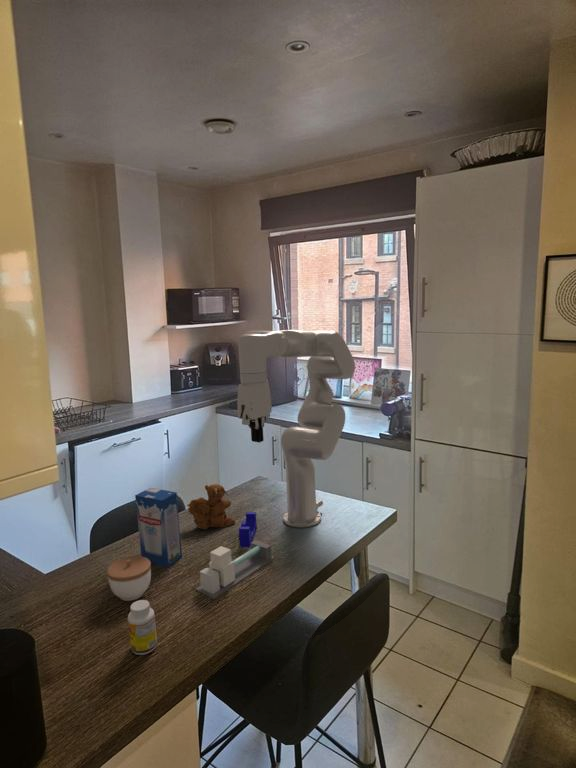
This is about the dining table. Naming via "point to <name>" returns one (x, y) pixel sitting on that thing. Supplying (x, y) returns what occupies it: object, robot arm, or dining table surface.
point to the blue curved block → (248, 529)
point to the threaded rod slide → (236, 569)
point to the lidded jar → (129, 577)
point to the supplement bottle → (142, 628)
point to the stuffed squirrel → (211, 509)
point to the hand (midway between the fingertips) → (257, 441)
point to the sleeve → (223, 565)
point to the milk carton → (159, 526)
